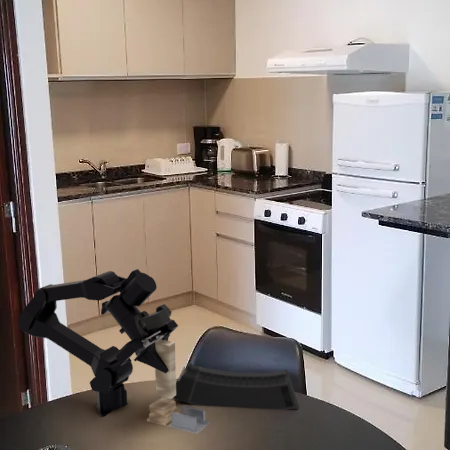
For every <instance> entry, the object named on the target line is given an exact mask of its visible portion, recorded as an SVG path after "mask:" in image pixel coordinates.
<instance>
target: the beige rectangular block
mask: <svg viewBox="0 0 450 450" xmlns="http://www.w3.org/2000/svg"><path fill="white" fill-rule="evenodd" d="M155 346H156V352H157V353H158V354H159V356H160V357H161V359H162V360H163V362H164V363H165V365H166V366H167V368H168V370H169V371H168V372H167V373H163V372H161V371H159V370H157V369H155V368H154V373H155V396H156V397H160V398H162V397H163V398H166V399H169V400H172V399H174V398H173V397H174V396H176V382H177V379H176V377H177V373H176V371H177V370H176V369H177V368H176V342H175V341H169V340H168V341H166V340H158V341H157V342H155Z"/></svg>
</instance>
